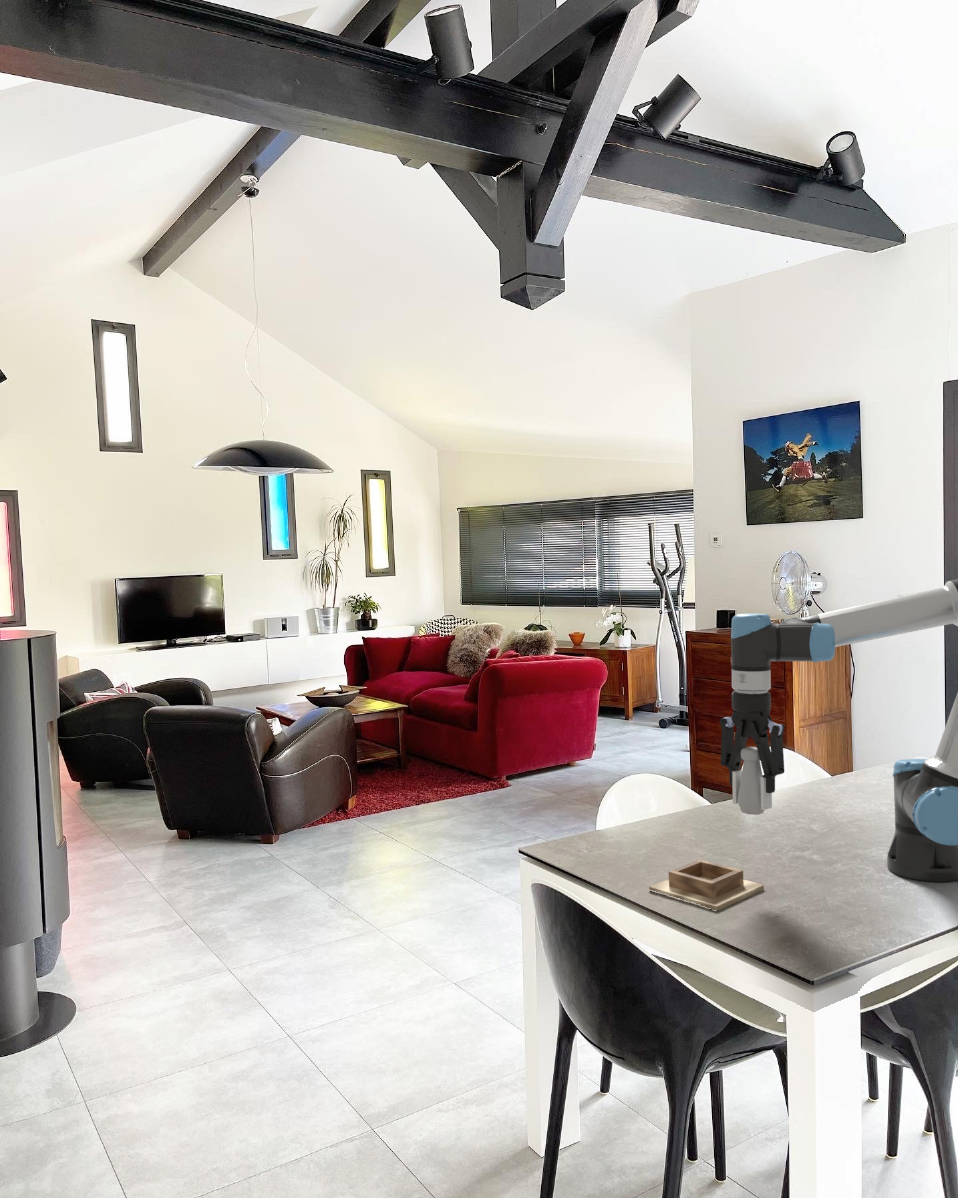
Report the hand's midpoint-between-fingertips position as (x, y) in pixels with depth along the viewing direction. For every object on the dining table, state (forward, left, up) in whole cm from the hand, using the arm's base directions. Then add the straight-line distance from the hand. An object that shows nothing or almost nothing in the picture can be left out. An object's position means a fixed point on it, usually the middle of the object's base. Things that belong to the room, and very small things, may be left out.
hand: (752, 805), depth 187 cm
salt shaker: (0, 0, -2) cm, 2 cm away
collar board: (+6, +8, -17) cm, 19 cm away
